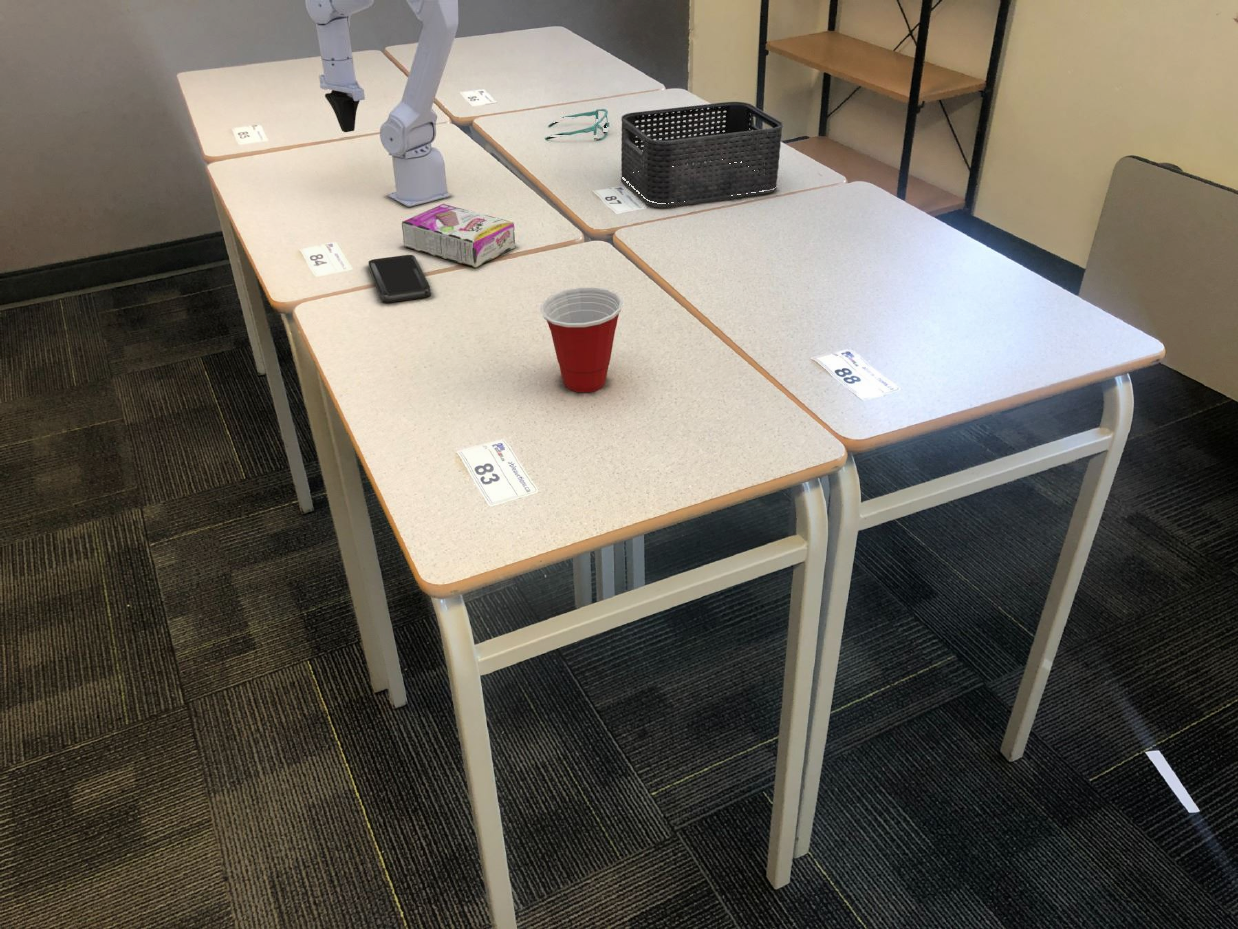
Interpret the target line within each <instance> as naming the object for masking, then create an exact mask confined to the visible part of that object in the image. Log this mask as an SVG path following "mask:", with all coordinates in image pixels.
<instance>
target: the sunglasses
mask: <svg viewBox="0 0 1238 929" xmlns="http://www.w3.org/2000/svg"><path fill="white" fill-rule="evenodd" d="M599 112H604V115H603V116H602V117H601V118H600V120H599ZM608 113H609V112H608V110H607V109H606V108H599V109H596V110H592V111H586V112H580V113H576V114H572V115H571V114H570V115H565V116H563V117H561V118H564V117H575V118H579V117H592V116H595V120H596V119H598V122H597V123H596V122H595V123H594V124H593V125H592V126H589V127H586V128H582V129H577V130H574V131H568V132H567V131H566V132H559V133H556V134H555V133H554V135H569V136H572V135H577V134H582V133H583V134H584V133H585V134H588V133H590V132H593V136H594V135H596V134H598V133H597V130H598V128H599V129H600V130H602V133H603V134H604V135H603V136H602V137H599V138H594V137H593V140H594V141H596V140H595V139H602V140H604V139H605V138H607V136H608V133H609V131H608V132H603V127H604V128H607V127H609V128H610V122H608ZM605 118H606V122H605V123H604V125H603V126H601V125H600V124H601V123H602V122H603V121H604V119H605ZM557 124H559V122H555V123H553V122H551V123H549V124H548V125H547V127H548V128H551V127H554V126H555V125H557ZM606 126H607V127H606ZM606 135H607V136H606ZM550 136H551V135H549V136H546V137H544V140H545V141H549V140H552V139H556V138H557V137H550ZM604 137H605V138H604Z"/></svg>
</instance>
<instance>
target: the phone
mask: <svg viewBox="0 0 1238 929" xmlns="http://www.w3.org/2000/svg"><path fill="white" fill-rule="evenodd" d="M367 263H368V269H369V271H370V274H371V277H372V280H373V282H374V285H375V288H376V291H377V292H378V295H379V298H380V301H381V302H382V303H386V304H388V303H389V304H390V303H396V302H403V301H411V300H418V299H424V298H428V297H430V296H431V294H432V293H431V287H430V284H429V282H428V280H427V279H426V275H425V274H424V271H423V270H422V268H421V266H420V264H419V261H418V259H417V258H416V256H415V255H414V254H404V255H403V254H402V255H396V256H388V257H387V256H386V257H381V258H380V257H379V258H372V259H370V260H368V262H367Z"/></svg>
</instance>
